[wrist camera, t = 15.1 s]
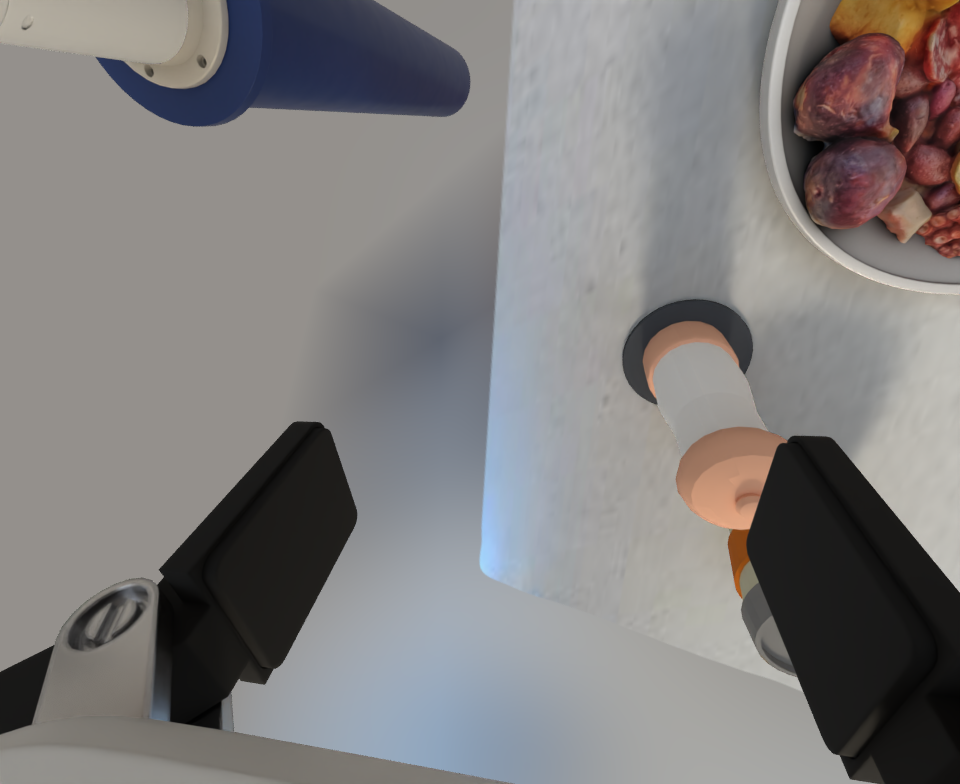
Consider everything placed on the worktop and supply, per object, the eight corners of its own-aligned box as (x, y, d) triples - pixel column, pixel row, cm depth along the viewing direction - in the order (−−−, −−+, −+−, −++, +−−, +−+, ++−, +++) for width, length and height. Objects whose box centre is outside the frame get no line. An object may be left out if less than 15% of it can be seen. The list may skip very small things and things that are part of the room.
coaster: (619, 404, 44) (619, 407, 44) (626, 301, 39) (627, 302, 39) (737, 407, 42) (739, 409, 42) (764, 297, 36) (766, 298, 36)
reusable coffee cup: (719, 456, 45) (773, 583, 33) (858, 463, 43) (974, 605, 30) (698, 538, 52) (736, 671, 39) (818, 549, 49) (900, 695, 37)
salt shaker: (632, 382, 42) (664, 539, 26) (657, 313, 38) (713, 448, 22) (708, 398, 42) (789, 569, 26) (742, 329, 38) (862, 480, 22)
